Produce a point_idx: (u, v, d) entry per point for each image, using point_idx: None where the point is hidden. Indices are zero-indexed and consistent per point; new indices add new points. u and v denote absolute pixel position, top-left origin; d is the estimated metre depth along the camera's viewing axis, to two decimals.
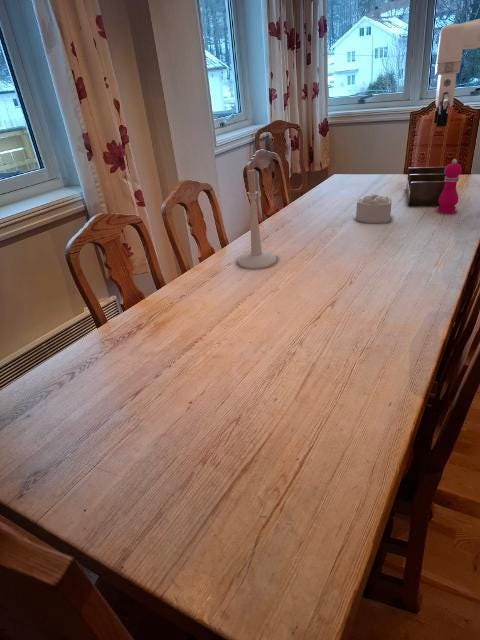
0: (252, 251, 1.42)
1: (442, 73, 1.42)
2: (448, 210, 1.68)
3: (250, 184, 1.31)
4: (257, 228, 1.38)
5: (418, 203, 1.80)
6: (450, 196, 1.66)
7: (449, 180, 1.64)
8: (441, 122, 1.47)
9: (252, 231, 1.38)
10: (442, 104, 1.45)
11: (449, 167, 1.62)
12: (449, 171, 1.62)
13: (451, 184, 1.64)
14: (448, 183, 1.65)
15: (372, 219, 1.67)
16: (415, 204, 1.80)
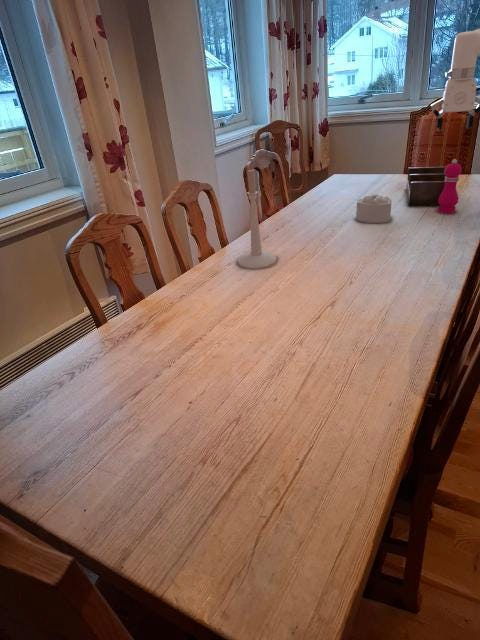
0: (252, 251, 1.42)
1: None
2: (448, 210, 1.68)
3: (250, 184, 1.31)
4: (257, 228, 1.38)
5: (418, 203, 1.80)
6: (450, 196, 1.66)
7: (449, 180, 1.64)
8: (436, 125, 1.56)
9: (252, 231, 1.38)
10: (442, 108, 1.53)
11: (449, 167, 1.62)
12: (449, 171, 1.62)
13: (451, 184, 1.64)
14: (448, 183, 1.65)
15: (372, 219, 1.67)
16: (415, 204, 1.80)
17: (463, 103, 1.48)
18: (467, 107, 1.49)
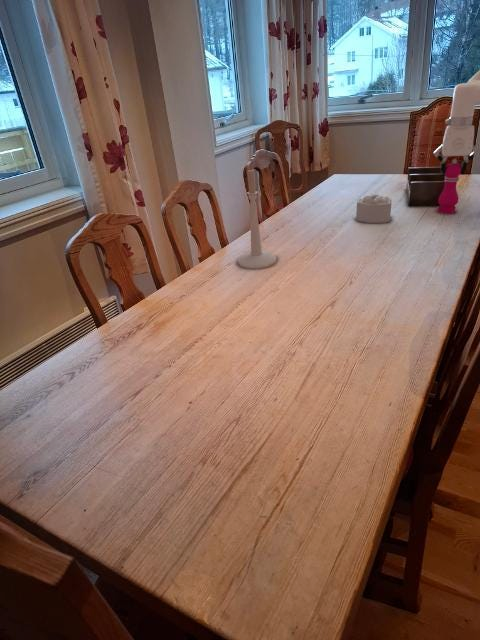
0: (252, 251, 1.42)
1: None
2: (448, 210, 1.68)
3: (250, 184, 1.31)
4: (257, 228, 1.38)
5: (418, 203, 1.80)
6: (450, 196, 1.66)
7: (449, 180, 1.64)
8: (440, 169, 1.65)
9: (252, 231, 1.38)
10: None
11: (449, 167, 1.62)
12: (449, 171, 1.62)
13: (451, 184, 1.64)
14: (448, 183, 1.65)
15: (372, 219, 1.67)
16: (415, 204, 1.80)
17: (461, 148, 1.57)
18: (465, 152, 1.57)
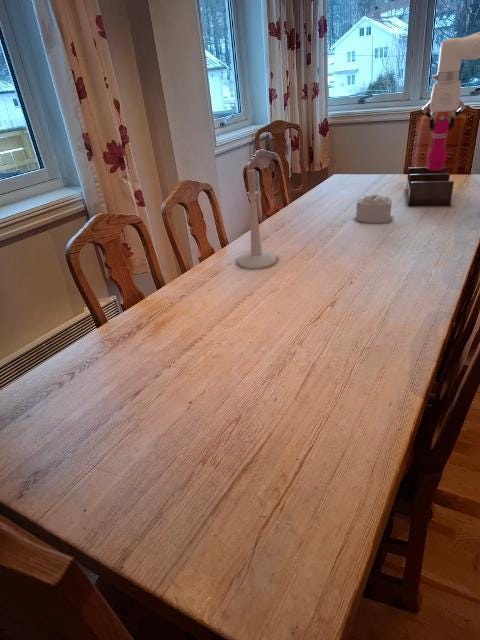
0: (252, 251, 1.42)
1: None
2: (437, 167, 1.73)
3: (250, 184, 1.31)
4: (257, 228, 1.38)
5: (418, 203, 1.80)
6: (438, 153, 1.70)
7: (437, 136, 1.68)
8: (429, 126, 1.69)
9: (252, 231, 1.38)
10: None
11: (437, 123, 1.66)
12: (437, 127, 1.66)
13: (439, 140, 1.69)
14: (436, 139, 1.69)
15: (372, 219, 1.67)
16: (415, 204, 1.80)
17: (448, 104, 1.61)
18: (452, 107, 1.61)
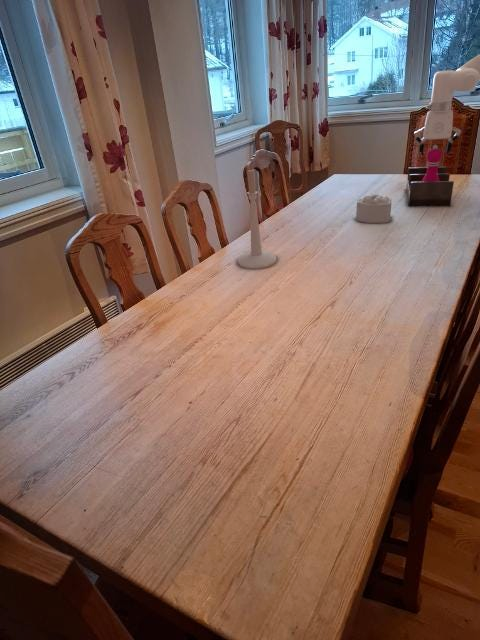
0: (252, 251, 1.42)
1: None
2: None
3: (250, 184, 1.31)
4: (257, 228, 1.38)
5: (418, 203, 1.80)
6: (432, 180, 1.78)
7: (430, 164, 1.76)
8: (419, 150, 1.76)
9: (252, 231, 1.38)
10: None
11: (430, 152, 1.74)
12: (430, 156, 1.74)
13: (432, 168, 1.76)
14: (430, 167, 1.77)
15: (372, 219, 1.67)
16: (415, 204, 1.80)
17: (441, 132, 1.68)
18: (445, 135, 1.69)
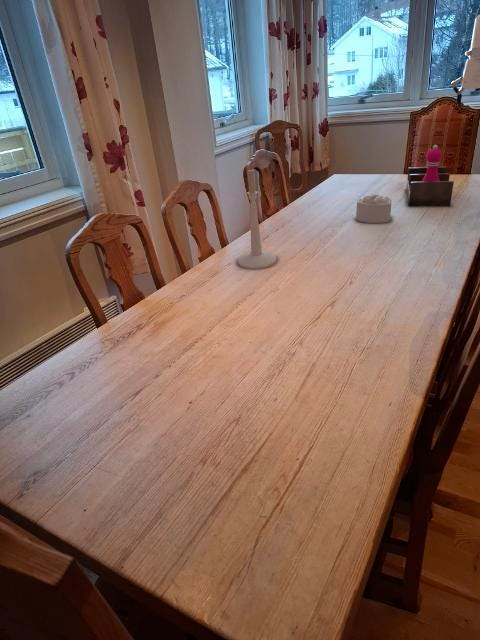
0: (252, 251, 1.42)
1: None
2: None
3: (250, 184, 1.31)
4: (257, 228, 1.38)
5: (418, 203, 1.80)
6: (432, 180, 1.78)
7: (430, 164, 1.76)
8: (456, 102, 1.69)
9: (252, 231, 1.38)
10: (462, 86, 1.66)
11: (430, 152, 1.74)
12: (430, 156, 1.74)
13: (432, 168, 1.76)
14: (430, 167, 1.77)
15: (372, 219, 1.67)
16: (415, 204, 1.80)
17: None
18: None
